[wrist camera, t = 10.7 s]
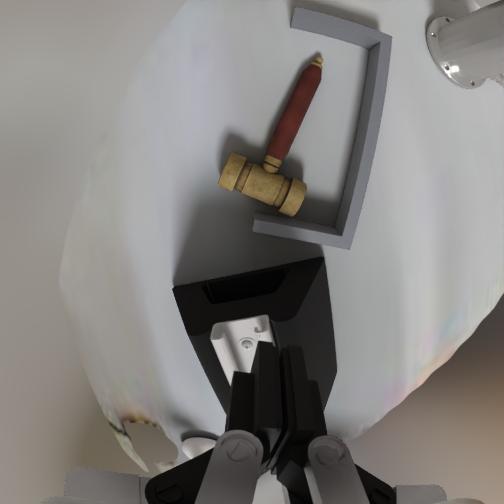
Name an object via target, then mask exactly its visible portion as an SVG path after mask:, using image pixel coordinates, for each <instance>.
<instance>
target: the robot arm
mask: <svg viewBox="0 0 504 504" xmlns="http://www.w3.org/2000/svg"><path fill="white" fill-rule="evenodd" d="M427 43H428V47H429V50H430V53H431V55H432V57H433V59H434V61H435V63H436V64H437V66H438V67H439V69H440V70H441V71H442V72H443V73H444V75H445V76H446V77H447V78H448V79H450V80H451V81H452V82H453V83H455V84H456V85H458V86H460V87H463V88H467V89H472V88H477V87H479V86H481V85H482V84H483V83H484V82H485V80H486V78H490V79H491V80H495V81H496V82H497V83H499V84H500V85H501V86H503V87H504V76H503V75H502V74H504V0H500V1H497V2H495V3H493V4H490V5H488V6H485V7H483V8H480V9H478V10H476V11H473V12H471V13H469V14H467V15H465V16H462V17H460V18H458V19H454V18H451V17H447V16H442V17H438V18H436V19H434V20H433V21H431V23H430V24H429V26H428V28H427ZM265 467H266V468H271V475H277V480H278V481H279V482H280V483H281V484H282V492H283V497H284V501H285V504H484V503H483V502H482V501H480V500H476V499H470V498H456V499H450V500H447V498H446V497H447V496H446V493H445V491H444V489H443V488H442V487H440V486H439V485H414V486H413V485H411V486H409V485H406V486H404V485H403V486H401V485H397V486H395V487H390V486H389V485H388V484H386V483H385V482H383V481H381V480H380V479H378V478H376V477H375V476H373V475H372V474H370V473H368V472H367V471H365V470H364V469H362V468H361V467H359V466H358V465H356V464H355V463H354V462H353V459H352V456H351V454H350V451H349V449H348V447H347V446H346V444H345V443H344V442H343V441H342V440H340V439H338V438H336V437H333V436H328V435H327V429H326V424H325V418H324V413H323V407H322V402H321V397H320V392H319V386H318V383H317V381H316V380H310V379H308V378H307V372H306V366H305V360H304V354H303V348H302V346H298V345H290V344H288V345H287V346H286V348H284V347H282V348H281V350H280V353H278V347H276V346H273V342H267V341H260V340H259V341H258V344H257V347H256V351H255V355H254V359H253V363H252V367H251V371H250V373H247V372H240V371H234V372H233V377H232V382H231V387H230V393H229V400H228V408H227V417H226V425H225V433H223V434H222V435H221V436H220V437H219V438H218V440H217V442H216V444H215V447H213V448H211V449H209V450H208V451H206V452H204V453H202V454H200V455H198V456H196V457H194V458H193V459H191V460H189V461H187V462H185V463H183V464H181V465H179V466H176V467H174V468H172V469H170V470H168V471H166V472H164V473H161V474H159V475H157V476H155V477H153V478H150V477H140V476H139V475H135V474H126V473H118V472H110V471H105V470H98V469H92V468H88V467H76V468H73V469H71V470H70V471H69V472H68V474H67V477H66V480H65V490H64V496H62V497H50V498H47V499H44V500H43V501H41V502H40V503H39V504H252V503H253V499H254V494H255V490H256V485H257V480H258V479H259V477H260V476H261V474H262V472H263V471H264V469H265Z"/></svg>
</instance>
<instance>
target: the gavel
mask: <svg viewBox="0 0 504 504" xmlns="http://www.w3.org/2000/svg"><path fill="white" fill-rule="evenodd" d="M322 62H323V58H321V57H316V59H315V62H312V63H311V64H310V65H309V66H308V67H307V68H306V69H305V70H304V71H303V72H302V74H301V76H300V78H299V80H298V82H297V84H296V87H295V89H294V91H293V93H292V95H291V97H290V99H289V102H288V104H287V106H286V108H285V110H284V112H283V115H282V117H281V119H280V121H279V123H278V125H277V128H276V130H275V132H274V134H273V136H272V139H271V141H270V143H269V146H268V149H267V153H266V156H265V158H264V163H263V162H262V165H261V166H259V165H257V164H251V163H249V162H246V159H247V157H244V156H242V155H239V154H237V153H234V152H233V153H231V154H230V156H229V158H228V160H227V162H226V164H225V166H224V168H223V171H222V173H221V176H220V179H219V182H218V185H219V186H220V187H222V188H224V189H227V190H229V191H233V190H234V188H235V189H237V190H239V191H241V193H243V194H246V195H248V196H250V197H253V198H255V199H257V200H260V201H262V202H264V203H267V204H269V205H275V206H277V207H278V211H279V212H281V213H283V214H286V215H288V216H290V217H292V216H294V215H295V214H296V213H297V211H298V210H299V208H300V206H301V204H302V202H303V199H304V197H305V194H306V190H307V187H306V183H303V182H301V181H299V180H297V179H295V178H291V179H290V180H288V179H286V178H284V176H282V175H280V174H278V170H279V169H278V167H280V165H281V163H282V161H283V160H284V158H285V157H286V155H287V154H288V152H289V149H290V147H291V145H292V143H293V141H294V138H295V136H296V134H297V132H298V130H299V127H300V125H301V123H302V121H303V119H304V116H305V114H306V112H307V110H308V108H309V105H310V103H311V101H312V99H313V97H314V94H315V92H316V90H317V88H318V86H319V83H320V81H321V72H322V65H321V63H322Z"/></svg>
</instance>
